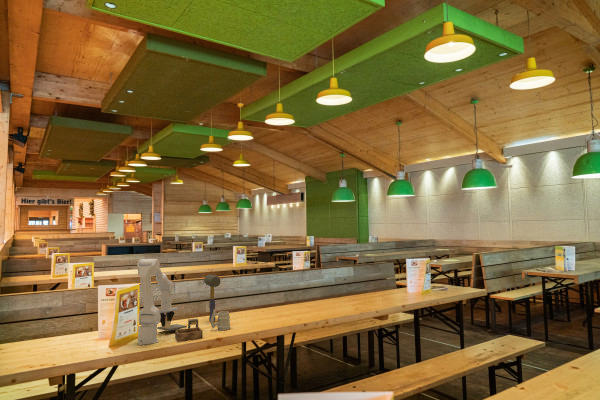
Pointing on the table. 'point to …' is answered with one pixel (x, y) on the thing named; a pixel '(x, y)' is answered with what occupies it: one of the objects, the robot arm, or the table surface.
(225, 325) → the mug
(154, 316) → the robot arm
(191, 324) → the latch bar
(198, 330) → the toolbox
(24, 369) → the table surface
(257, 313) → the table surface
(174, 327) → the lid
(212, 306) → the rubber mallet
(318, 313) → the table surface
